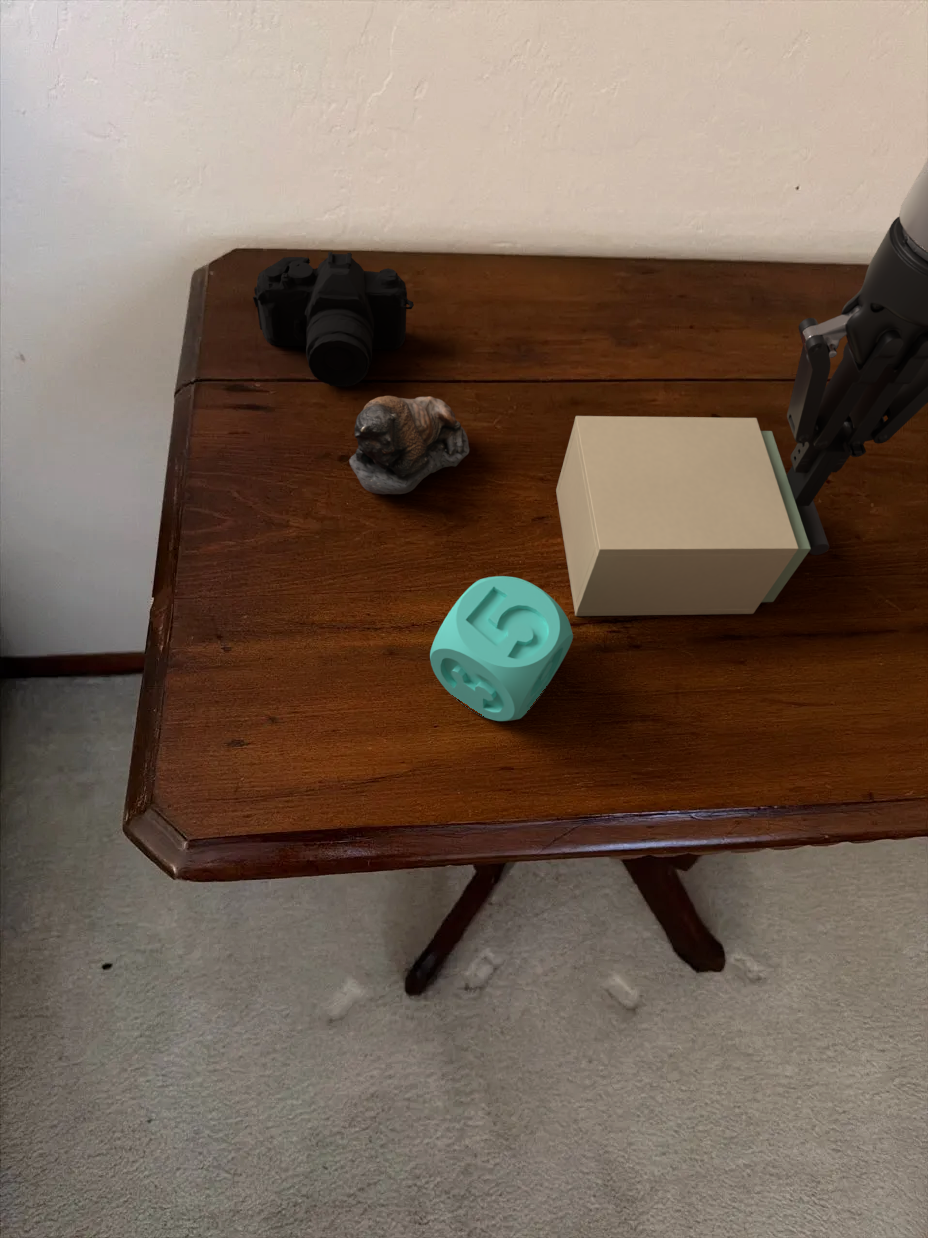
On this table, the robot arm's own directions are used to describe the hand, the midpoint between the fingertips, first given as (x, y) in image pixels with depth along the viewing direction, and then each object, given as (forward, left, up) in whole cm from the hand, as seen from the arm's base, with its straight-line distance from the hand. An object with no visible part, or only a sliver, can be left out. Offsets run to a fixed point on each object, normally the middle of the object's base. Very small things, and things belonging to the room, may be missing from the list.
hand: (796, 492), depth 72 cm
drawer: (+6, 0, -7) cm, 9 cm away
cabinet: (+10, 0, -8) cm, 13 cm away
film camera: (+38, -24, -8) cm, 46 cm away
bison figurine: (+31, -9, -8) cm, 33 cm away
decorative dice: (+25, +12, -8) cm, 29 cm away
